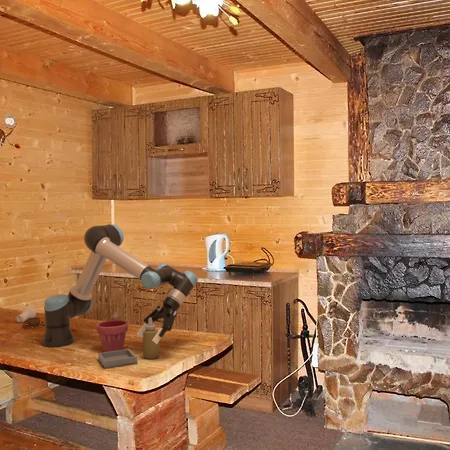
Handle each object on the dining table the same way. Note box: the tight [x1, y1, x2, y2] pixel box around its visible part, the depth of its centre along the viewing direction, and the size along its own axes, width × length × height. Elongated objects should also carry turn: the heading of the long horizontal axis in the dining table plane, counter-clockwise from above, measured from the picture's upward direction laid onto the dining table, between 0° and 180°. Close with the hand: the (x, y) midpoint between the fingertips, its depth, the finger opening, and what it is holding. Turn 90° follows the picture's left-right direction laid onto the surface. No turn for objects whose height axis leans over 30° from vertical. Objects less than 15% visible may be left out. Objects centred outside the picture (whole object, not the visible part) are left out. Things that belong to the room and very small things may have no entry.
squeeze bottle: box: [141, 317, 161, 360], centre depth 236 cm, size 8×8×18 cm
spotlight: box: [16, 305, 37, 323], centre depth 315 cm, size 8×11×8 cm
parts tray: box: [97, 348, 138, 370], centre depth 231 cm, size 14×14×3 cm
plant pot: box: [96, 319, 129, 352], centre depth 249 cm, size 14×14×13 cm
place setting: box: [22, 316, 45, 329], centre depth 300 cm, size 18×20×6 cm
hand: (146, 339), depth 235 cm, fingers open, 13 cm apart
